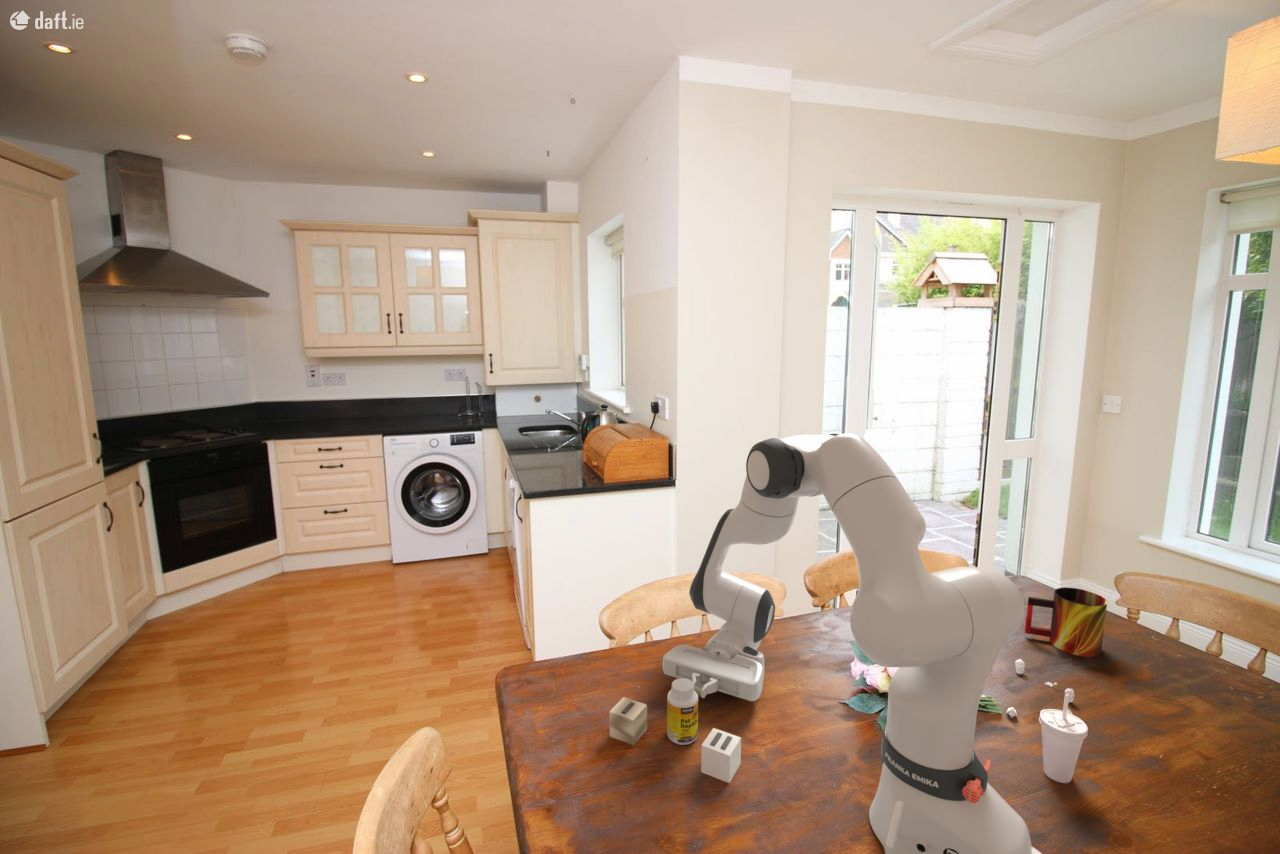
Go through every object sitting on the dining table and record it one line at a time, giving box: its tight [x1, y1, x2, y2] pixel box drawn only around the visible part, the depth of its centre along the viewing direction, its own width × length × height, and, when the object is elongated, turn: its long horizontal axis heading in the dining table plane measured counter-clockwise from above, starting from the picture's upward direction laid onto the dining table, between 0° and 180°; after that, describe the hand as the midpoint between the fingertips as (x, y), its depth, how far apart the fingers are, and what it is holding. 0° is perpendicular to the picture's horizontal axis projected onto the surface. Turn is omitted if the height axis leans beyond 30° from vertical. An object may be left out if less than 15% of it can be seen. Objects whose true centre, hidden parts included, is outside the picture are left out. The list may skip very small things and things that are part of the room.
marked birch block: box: [608, 696, 648, 747], centre depth 107 cm, size 5×5×5 cm
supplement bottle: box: [666, 678, 699, 746], centre depth 105 cm, size 6×6×10 cm
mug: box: [1024, 587, 1108, 658], centre depth 134 cm, size 10×14×12 cm
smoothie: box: [1038, 693, 1089, 784], centre depth 95 cm, size 6×6×14 cm
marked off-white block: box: [700, 727, 742, 784], centre depth 98 cm, size 5×5×5 cm
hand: (696, 692), depth 110 cm, fingers closed
